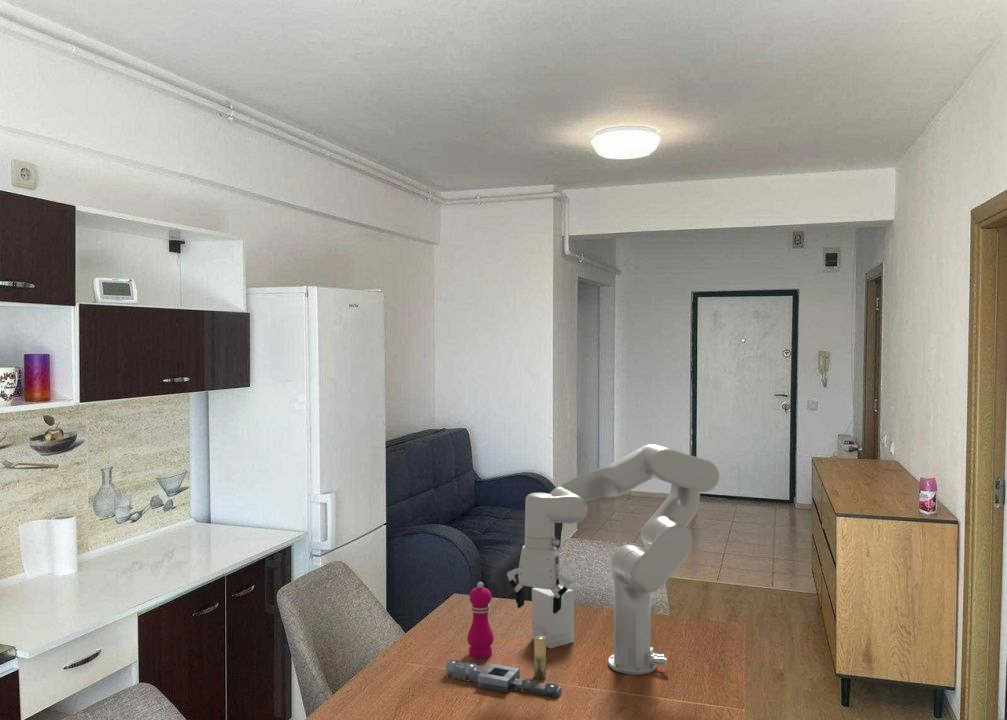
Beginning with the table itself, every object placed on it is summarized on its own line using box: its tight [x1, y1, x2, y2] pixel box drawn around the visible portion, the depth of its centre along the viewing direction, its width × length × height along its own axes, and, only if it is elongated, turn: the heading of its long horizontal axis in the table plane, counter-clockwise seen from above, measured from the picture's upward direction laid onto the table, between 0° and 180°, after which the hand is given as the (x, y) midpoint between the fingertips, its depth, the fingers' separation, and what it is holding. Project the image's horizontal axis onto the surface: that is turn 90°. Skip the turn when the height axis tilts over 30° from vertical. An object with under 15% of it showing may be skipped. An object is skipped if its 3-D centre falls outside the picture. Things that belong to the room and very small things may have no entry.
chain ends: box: [445, 658, 562, 699], centre depth 194 cm, size 31×8×4 cm, turn 67°
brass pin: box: [533, 636, 547, 680], centre depth 198 cm, size 3×3×10 cm
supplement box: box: [531, 584, 575, 649], centre depth 222 cm, size 9×9×15 cm
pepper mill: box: [466, 581, 495, 660], centre depth 212 cm, size 7×7×20 cm
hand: (538, 609), depth 198 cm, fingers open, 9 cm apart
